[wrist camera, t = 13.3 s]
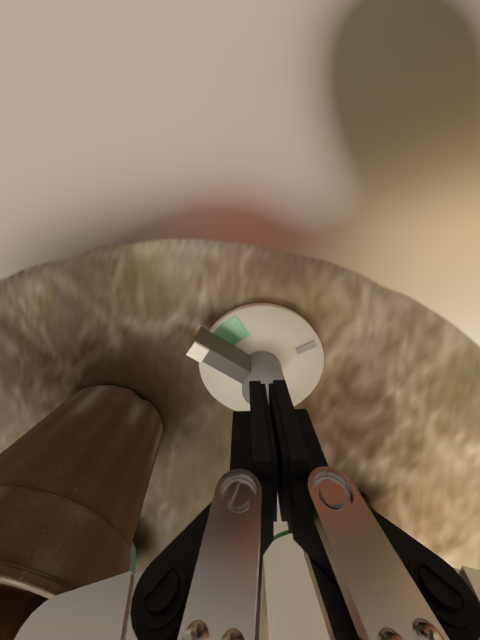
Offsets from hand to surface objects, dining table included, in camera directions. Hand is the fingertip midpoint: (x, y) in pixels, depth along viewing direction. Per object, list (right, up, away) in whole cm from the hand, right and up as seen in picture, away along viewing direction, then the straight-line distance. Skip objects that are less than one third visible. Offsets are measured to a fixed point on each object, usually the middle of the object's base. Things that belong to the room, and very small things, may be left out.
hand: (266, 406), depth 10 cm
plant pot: (-17, -9, +18) cm, 26 cm away
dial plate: (+1, 0, +14) cm, 14 cm away
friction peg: (-1, +1, +12) cm, 12 cm away
